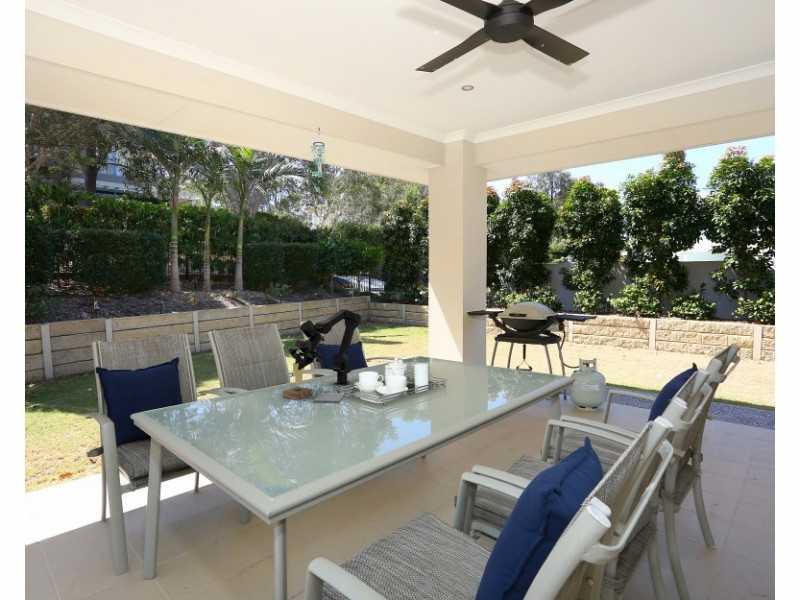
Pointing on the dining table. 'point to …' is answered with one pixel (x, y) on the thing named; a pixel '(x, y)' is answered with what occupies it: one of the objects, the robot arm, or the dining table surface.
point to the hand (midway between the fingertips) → (296, 369)
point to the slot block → (298, 393)
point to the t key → (298, 373)
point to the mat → (328, 398)
